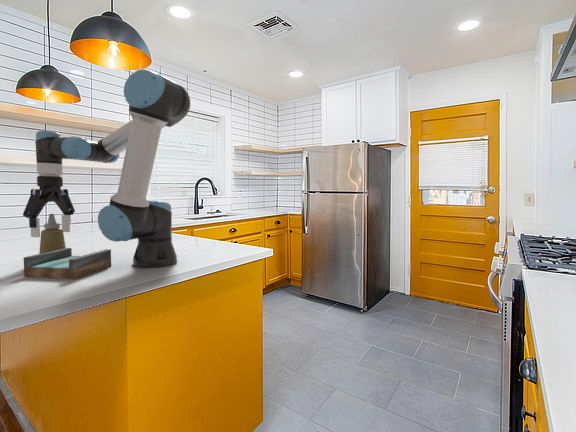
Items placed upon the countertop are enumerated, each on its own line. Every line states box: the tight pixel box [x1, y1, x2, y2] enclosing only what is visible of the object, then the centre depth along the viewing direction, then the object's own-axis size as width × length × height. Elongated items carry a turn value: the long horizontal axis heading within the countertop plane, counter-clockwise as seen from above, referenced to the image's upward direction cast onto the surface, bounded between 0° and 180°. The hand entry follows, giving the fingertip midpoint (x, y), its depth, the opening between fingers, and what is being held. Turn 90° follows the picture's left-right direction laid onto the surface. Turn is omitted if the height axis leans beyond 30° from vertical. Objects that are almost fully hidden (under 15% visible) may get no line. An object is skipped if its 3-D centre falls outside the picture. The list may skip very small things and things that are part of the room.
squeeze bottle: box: [38, 213, 67, 254], centre depth 119 cm, size 8×8×18 cm
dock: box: [23, 247, 112, 280], centre depth 108 cm, size 17×17×6 cm
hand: (51, 234), depth 119 cm, fingers open, 13 cm apart
